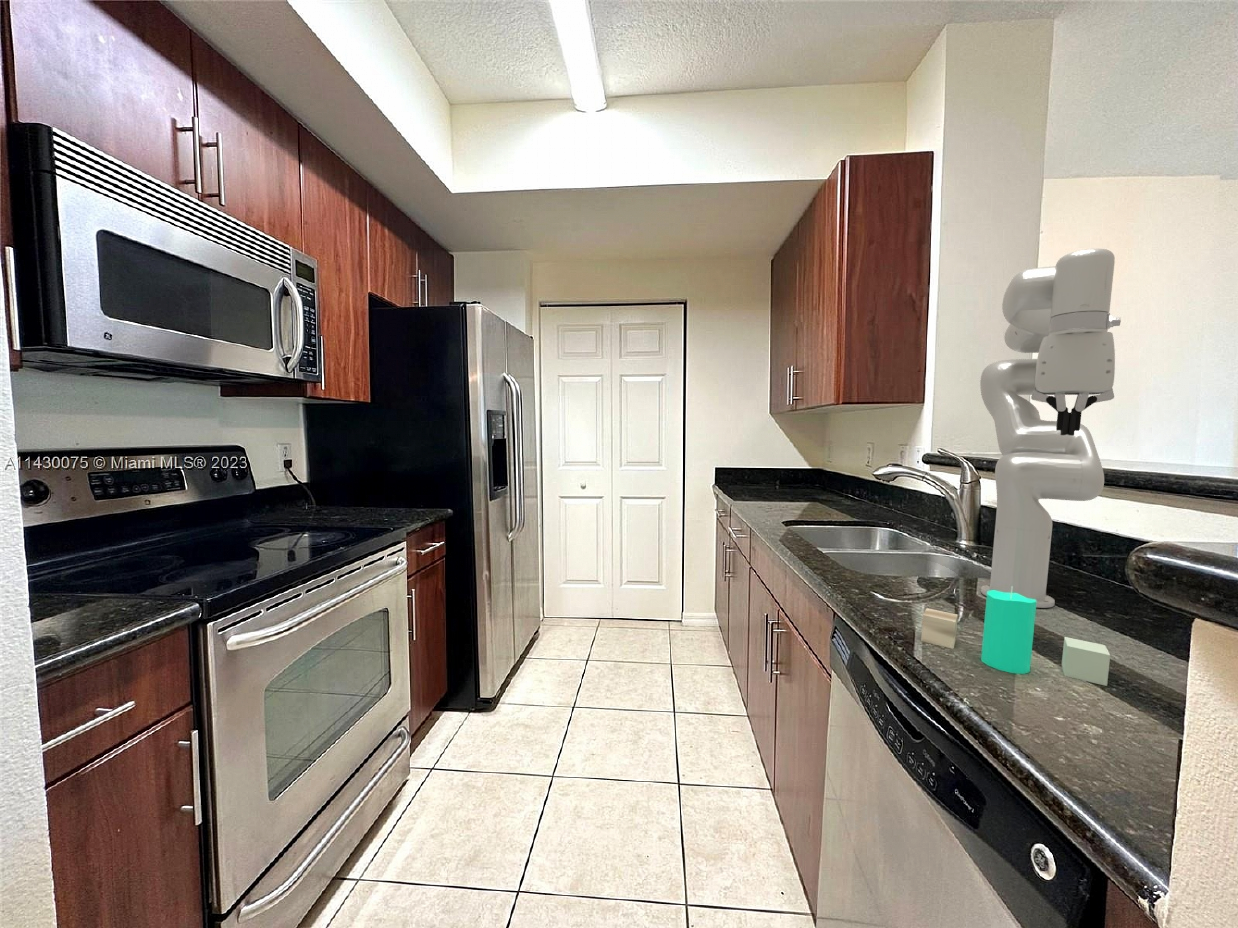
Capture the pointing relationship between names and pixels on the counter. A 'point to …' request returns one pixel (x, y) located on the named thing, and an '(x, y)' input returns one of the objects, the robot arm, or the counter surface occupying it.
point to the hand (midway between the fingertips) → (1067, 434)
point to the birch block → (939, 628)
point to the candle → (1008, 631)
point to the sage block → (1085, 661)
